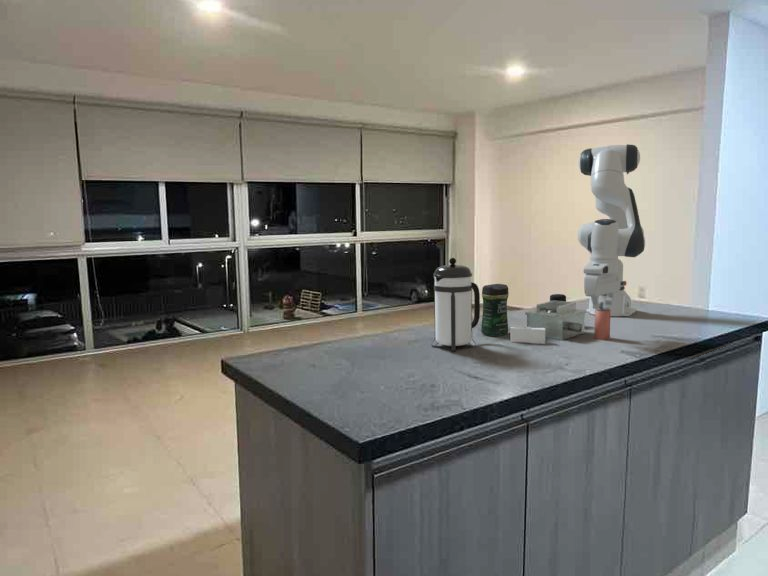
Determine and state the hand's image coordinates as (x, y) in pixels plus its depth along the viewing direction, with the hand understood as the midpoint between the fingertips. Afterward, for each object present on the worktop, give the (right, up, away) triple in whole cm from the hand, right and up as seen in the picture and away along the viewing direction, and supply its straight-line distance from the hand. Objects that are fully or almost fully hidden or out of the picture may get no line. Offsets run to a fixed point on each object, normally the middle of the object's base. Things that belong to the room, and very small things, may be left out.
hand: (602, 307), depth 187 cm
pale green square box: (-11, -10, +10) cm, 18 cm away
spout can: (+1, -11, +2) cm, 11 cm away
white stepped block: (-26, -13, -1) cm, 29 cm away
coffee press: (-51, -13, -3) cm, 53 cm away
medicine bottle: (-7, -8, +26) cm, 28 cm away
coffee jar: (-35, -11, +13) cm, 38 cm away
